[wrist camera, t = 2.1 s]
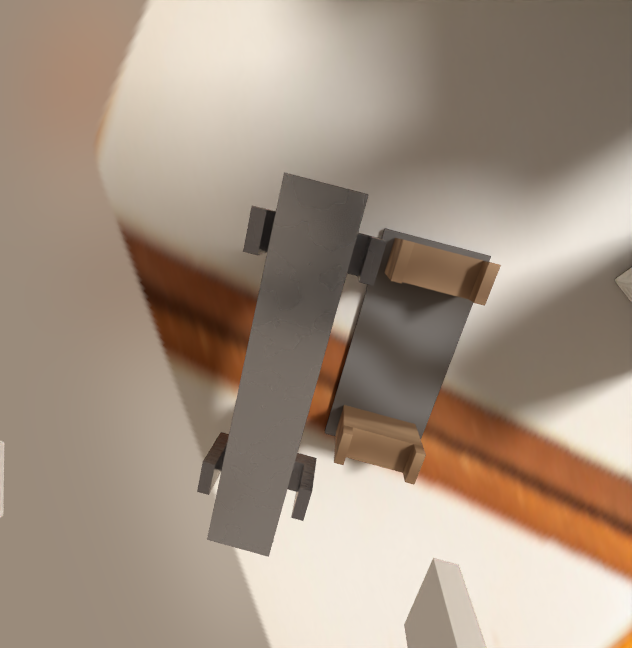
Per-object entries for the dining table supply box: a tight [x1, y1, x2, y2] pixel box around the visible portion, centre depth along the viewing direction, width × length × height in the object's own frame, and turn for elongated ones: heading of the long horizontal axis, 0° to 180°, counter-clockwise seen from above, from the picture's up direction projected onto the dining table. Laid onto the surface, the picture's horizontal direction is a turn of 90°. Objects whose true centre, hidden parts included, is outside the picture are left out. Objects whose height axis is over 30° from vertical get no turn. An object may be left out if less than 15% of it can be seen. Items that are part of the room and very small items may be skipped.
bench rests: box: [325, 229, 501, 484], centre depth 30 cm, size 20×9×5 cm, turn 166°
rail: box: [207, 173, 368, 557], centre depth 21 cm, size 22×4×4 cm, turn 166°
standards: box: [198, 206, 387, 521], centre depth 27 cm, size 20×7×12 cm, turn 166°
